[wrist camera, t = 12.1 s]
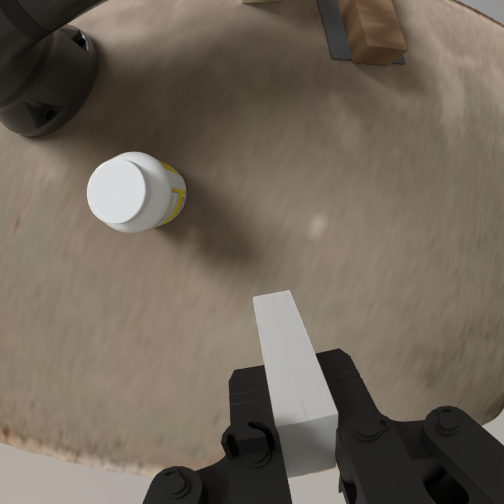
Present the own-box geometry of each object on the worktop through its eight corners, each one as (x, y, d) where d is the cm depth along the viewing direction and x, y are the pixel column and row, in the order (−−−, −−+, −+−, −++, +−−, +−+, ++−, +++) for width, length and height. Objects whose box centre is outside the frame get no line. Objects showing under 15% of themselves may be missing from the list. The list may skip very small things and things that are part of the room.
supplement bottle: (122, 174, 33) (67, 161, 20) (179, 156, 33) (147, 130, 21) (137, 232, 34) (87, 248, 21) (194, 216, 34) (170, 223, 22)
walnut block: (367, 45, 27) (337, -48, 25) (352, 62, 32) (327, -27, 30) (407, 50, 27) (373, -42, 25) (389, 65, 32) (362, -23, 30)
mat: (331, 59, 32) (332, 58, 32) (311, -20, 30) (312, -21, 30) (404, 64, 33) (405, 63, 32) (380, -12, 31) (380, -13, 30)
